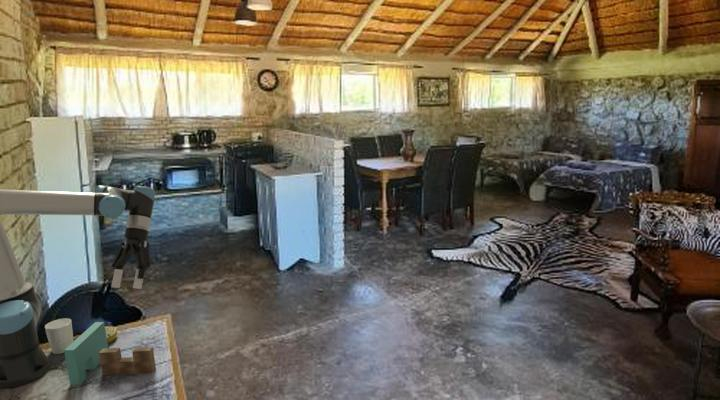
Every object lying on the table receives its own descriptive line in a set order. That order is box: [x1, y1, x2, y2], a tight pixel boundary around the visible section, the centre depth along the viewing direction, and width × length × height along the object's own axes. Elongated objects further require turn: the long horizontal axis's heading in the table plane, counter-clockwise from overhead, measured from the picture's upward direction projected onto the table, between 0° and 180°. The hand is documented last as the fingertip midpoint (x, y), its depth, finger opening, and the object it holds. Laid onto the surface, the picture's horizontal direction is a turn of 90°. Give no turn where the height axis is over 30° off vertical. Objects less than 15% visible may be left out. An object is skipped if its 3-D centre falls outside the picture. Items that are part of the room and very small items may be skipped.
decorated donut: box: [105, 325, 118, 344], centre depth 170 cm, size 10×11×4 cm
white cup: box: [44, 317, 74, 355], centre depth 164 cm, size 8×8×10 cm
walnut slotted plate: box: [99, 346, 157, 376], centre depth 149 cm, size 16×2×8 cm, turn 92°
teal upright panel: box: [63, 321, 109, 386], centre depth 151 cm, size 18×3×12 cm, turn 2°
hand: (125, 288), depth 162 cm, fingers open, 13 cm apart
